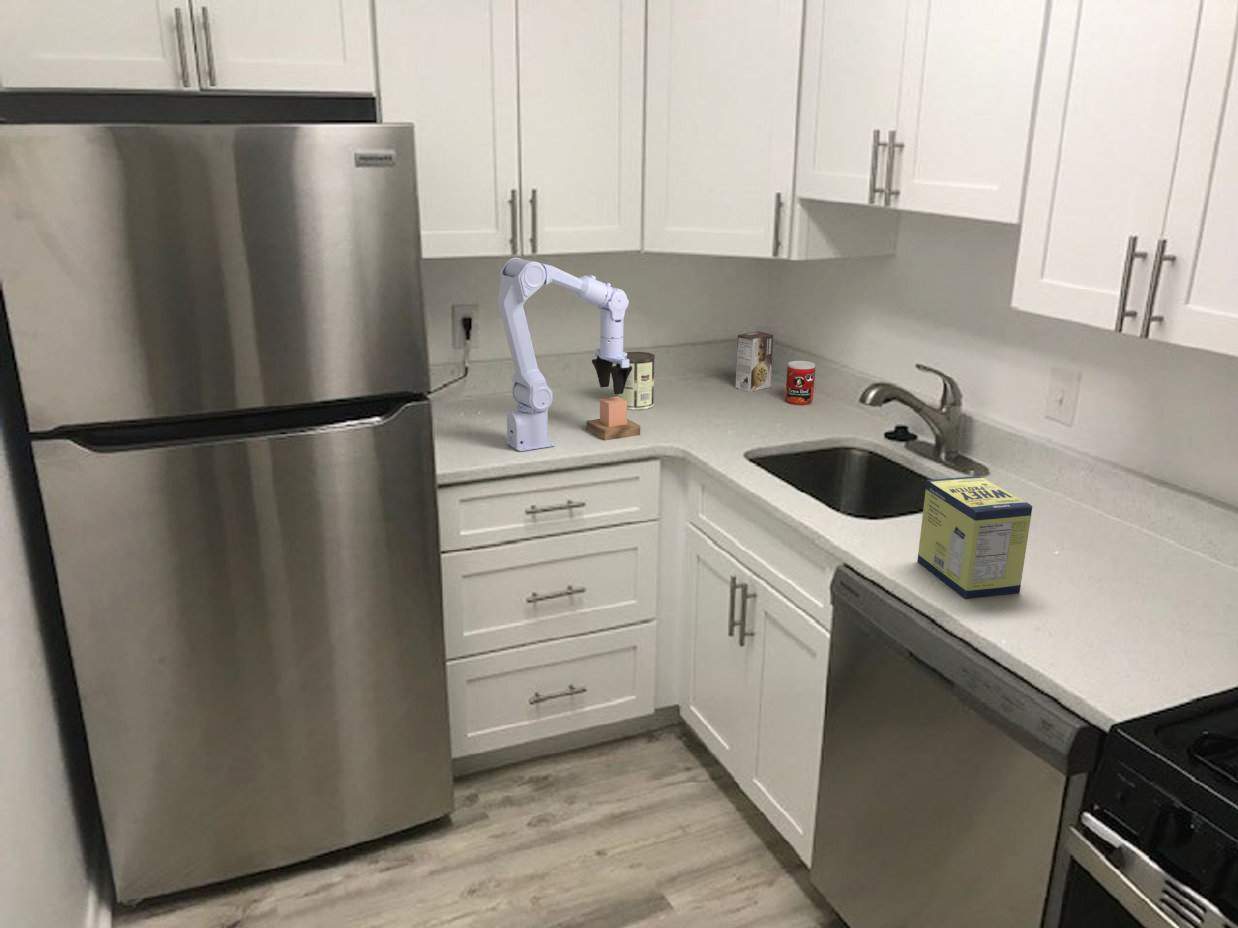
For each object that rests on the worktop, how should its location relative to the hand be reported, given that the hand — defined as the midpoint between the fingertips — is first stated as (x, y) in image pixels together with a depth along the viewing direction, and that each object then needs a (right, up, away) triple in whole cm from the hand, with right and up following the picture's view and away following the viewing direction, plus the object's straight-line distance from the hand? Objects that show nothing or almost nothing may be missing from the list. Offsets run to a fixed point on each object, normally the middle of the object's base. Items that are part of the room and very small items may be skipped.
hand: (611, 390), depth 242 cm
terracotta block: (0, -8, +1) cm, 8 cm away
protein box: (+61, -38, -77) cm, 105 cm away
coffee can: (+6, -2, +27) cm, 27 cm away
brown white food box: (+42, +4, +46) cm, 62 cm away
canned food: (+53, -1, +32) cm, 61 cm away
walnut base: (0, -11, +2) cm, 11 cm away
